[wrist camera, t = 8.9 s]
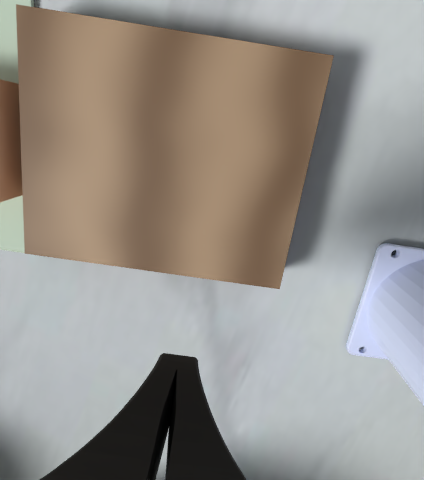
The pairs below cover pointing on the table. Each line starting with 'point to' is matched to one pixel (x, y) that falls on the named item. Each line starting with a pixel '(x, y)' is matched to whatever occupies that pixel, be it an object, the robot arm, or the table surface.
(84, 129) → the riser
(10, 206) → the mat
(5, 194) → the block
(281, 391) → the table surface
